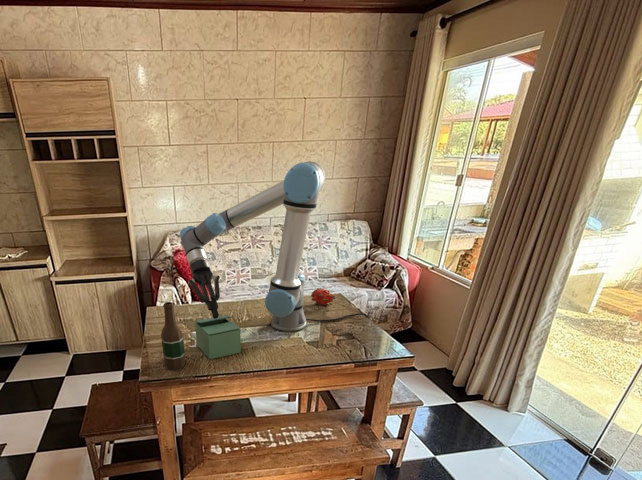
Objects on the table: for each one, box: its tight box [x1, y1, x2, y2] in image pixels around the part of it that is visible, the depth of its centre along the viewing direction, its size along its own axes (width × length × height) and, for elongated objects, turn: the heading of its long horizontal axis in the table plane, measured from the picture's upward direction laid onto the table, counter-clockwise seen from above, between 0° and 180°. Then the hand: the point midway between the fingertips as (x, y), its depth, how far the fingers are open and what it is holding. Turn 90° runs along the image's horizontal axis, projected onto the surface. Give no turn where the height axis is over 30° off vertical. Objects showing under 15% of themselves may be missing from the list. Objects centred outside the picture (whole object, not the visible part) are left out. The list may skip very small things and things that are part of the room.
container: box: [194, 318, 242, 360], centre depth 159 cm, size 15×13×10 cm
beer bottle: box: [160, 301, 186, 371], centre depth 145 cm, size 8×8×24 cm
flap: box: [194, 314, 233, 323], centre depth 159 cm, size 7×13×1 cm, turn 113°
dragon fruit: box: [310, 287, 336, 306], centre depth 200 cm, size 8×8×12 cm
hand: (216, 316), depth 155 cm, fingers closed
